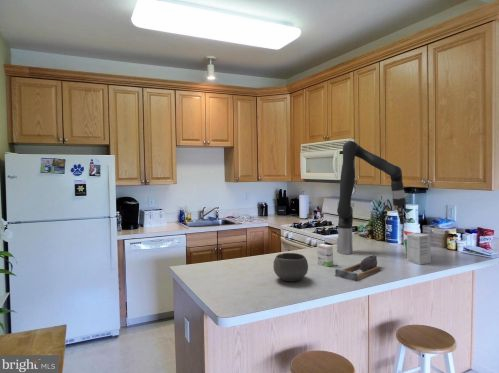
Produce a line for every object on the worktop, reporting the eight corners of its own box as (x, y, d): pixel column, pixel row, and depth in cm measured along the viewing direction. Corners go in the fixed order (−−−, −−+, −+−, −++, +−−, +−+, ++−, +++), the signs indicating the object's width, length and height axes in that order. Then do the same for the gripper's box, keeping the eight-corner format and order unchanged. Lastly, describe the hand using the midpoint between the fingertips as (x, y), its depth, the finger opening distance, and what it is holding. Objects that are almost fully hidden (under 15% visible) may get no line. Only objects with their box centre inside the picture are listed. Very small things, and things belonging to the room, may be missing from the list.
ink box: (333, 265, 202) (333, 245, 201) (327, 266, 199) (327, 246, 198) (322, 262, 209) (322, 243, 208) (317, 263, 206) (316, 244, 205)
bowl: (273, 274, 187) (272, 252, 186) (305, 274, 186) (305, 251, 186) (274, 285, 169) (273, 260, 169) (310, 285, 169) (310, 260, 168)
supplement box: (431, 263, 201) (431, 234, 200) (419, 265, 197) (419, 236, 196) (417, 259, 209) (417, 232, 209) (406, 261, 206) (406, 233, 205)
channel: (335, 275, 182) (335, 269, 182) (360, 266, 198) (360, 260, 198) (355, 281, 173) (355, 274, 172) (380, 270, 189) (380, 264, 189)
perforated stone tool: (364, 273, 186) (364, 260, 185) (356, 270, 190) (356, 258, 190) (380, 267, 195) (380, 255, 194) (371, 265, 199) (371, 254, 198)
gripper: (392, 197, 221) (395, 221, 221) (391, 199, 208) (395, 225, 208) (405, 196, 218) (408, 221, 218) (405, 197, 205) (408, 224, 205)
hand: (402, 223), depth 213 cm, fingers open, 8 cm apart
